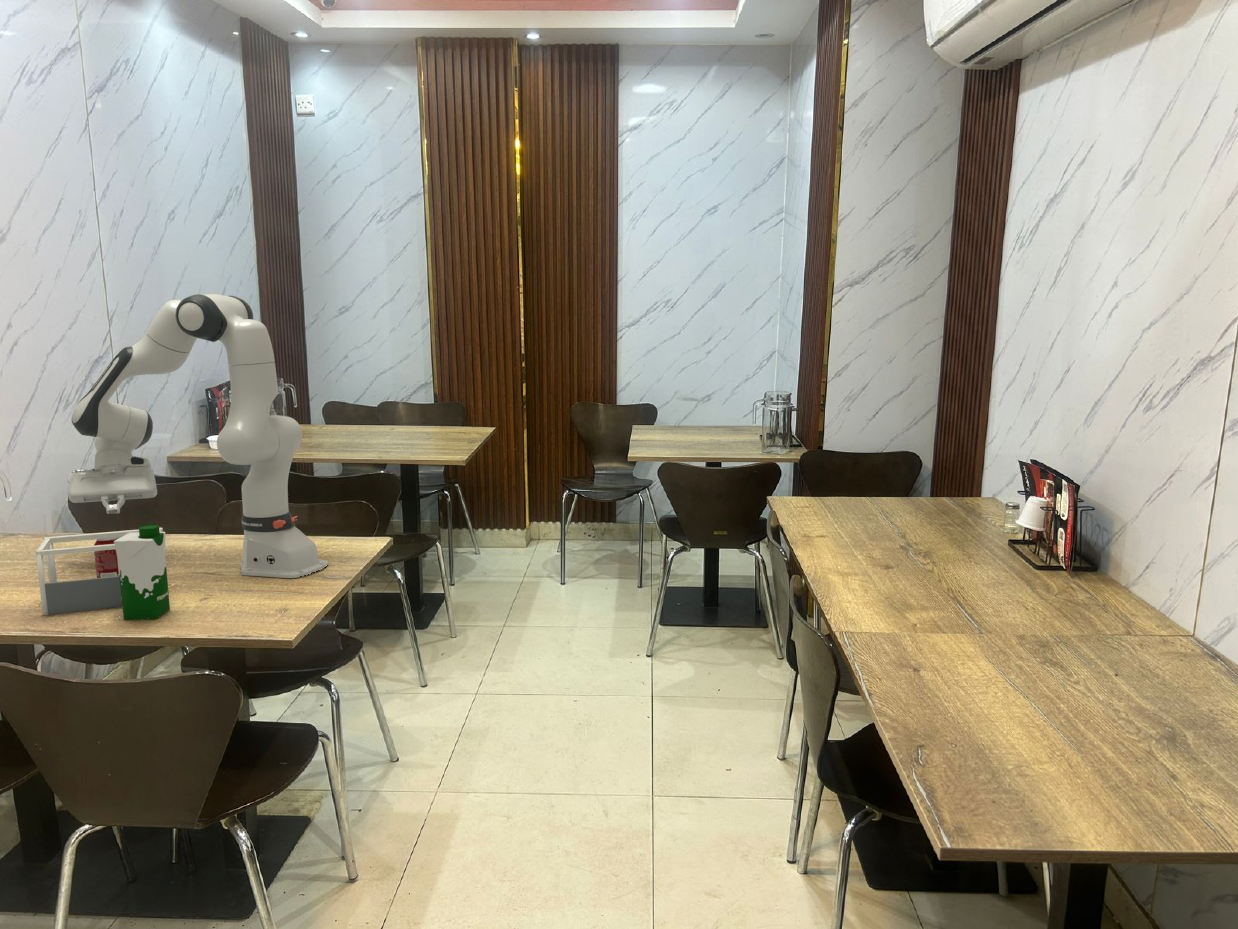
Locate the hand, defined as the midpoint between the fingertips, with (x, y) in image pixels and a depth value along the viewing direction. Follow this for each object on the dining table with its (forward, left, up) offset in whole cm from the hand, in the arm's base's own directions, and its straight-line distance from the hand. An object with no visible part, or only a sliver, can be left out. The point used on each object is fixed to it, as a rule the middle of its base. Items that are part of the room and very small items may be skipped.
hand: (112, 512), depth 237 cm
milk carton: (-35, +22, -16) cm, 44 cm away
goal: (-18, +18, -15) cm, 30 cm away
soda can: (-9, +9, -16) cm, 20 cm away
